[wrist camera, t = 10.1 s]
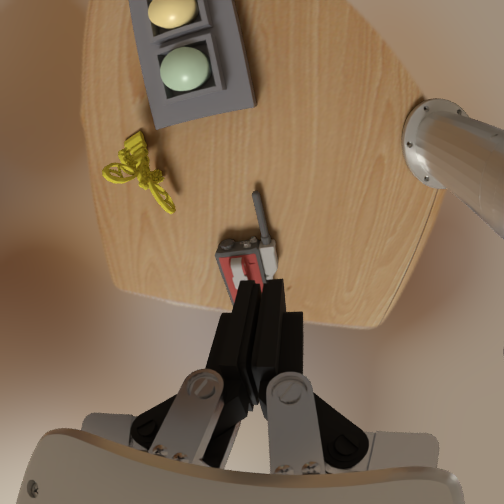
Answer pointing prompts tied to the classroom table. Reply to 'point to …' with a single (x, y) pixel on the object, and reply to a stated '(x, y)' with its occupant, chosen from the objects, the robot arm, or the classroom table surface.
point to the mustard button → (173, 13)
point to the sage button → (185, 69)
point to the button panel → (203, 39)
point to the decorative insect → (139, 170)
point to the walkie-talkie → (248, 256)
